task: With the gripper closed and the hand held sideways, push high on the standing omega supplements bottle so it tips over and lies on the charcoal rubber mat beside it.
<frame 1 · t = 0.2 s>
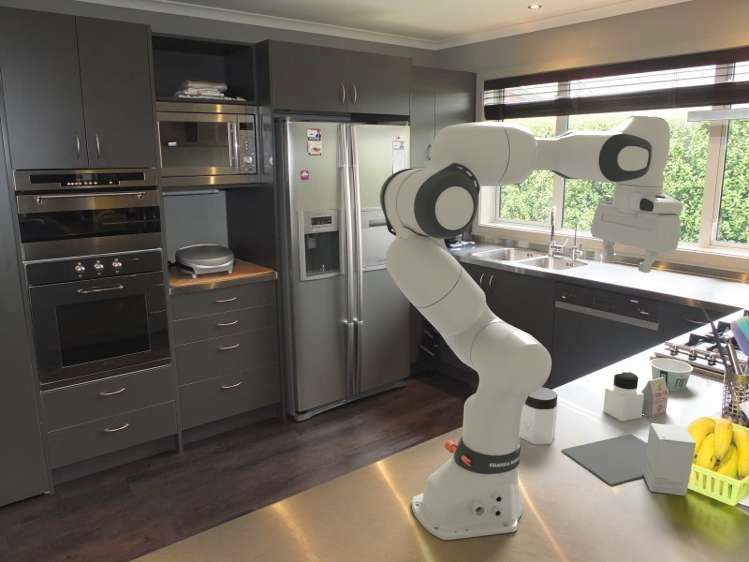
hand: (626, 266, 121), 48 cm above the countertop, tool pointing down, fingers open, 8 cm apart
medicine bottle: (621, 415, 161), on the countertop
juice carton: (652, 413, 163), on the countertop
mat: (621, 458, 138), on the countertop
jar: (537, 437, 148), on the countertop
supplement box: (663, 485, 127), on the countertop, touching mat
food container: (668, 385, 182), on the countertop
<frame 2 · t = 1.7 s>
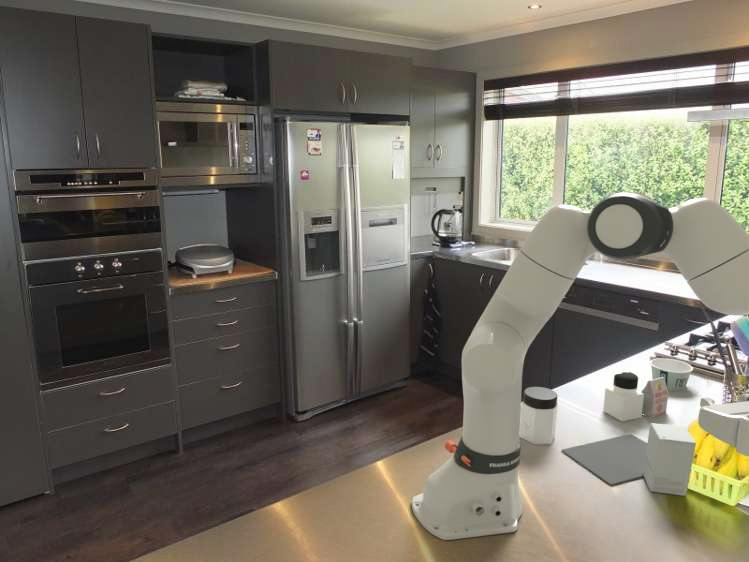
hand: (722, 399, 110), 25 cm above the countertop, tool horizontal, fingers open, 7 cm apart
nothing on the countertop moved.
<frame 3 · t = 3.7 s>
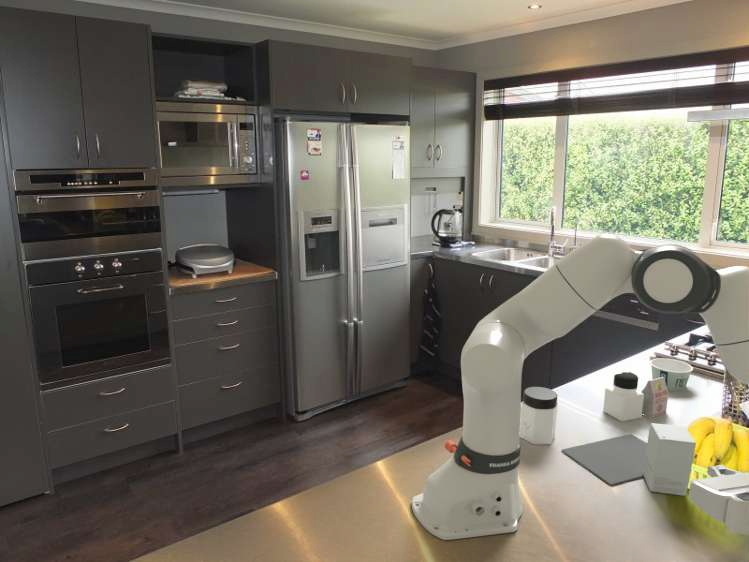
hand: (713, 468, 113), 11 cm above the countertop, tool horizontal, fingers closed
nothing on the countertop moved.
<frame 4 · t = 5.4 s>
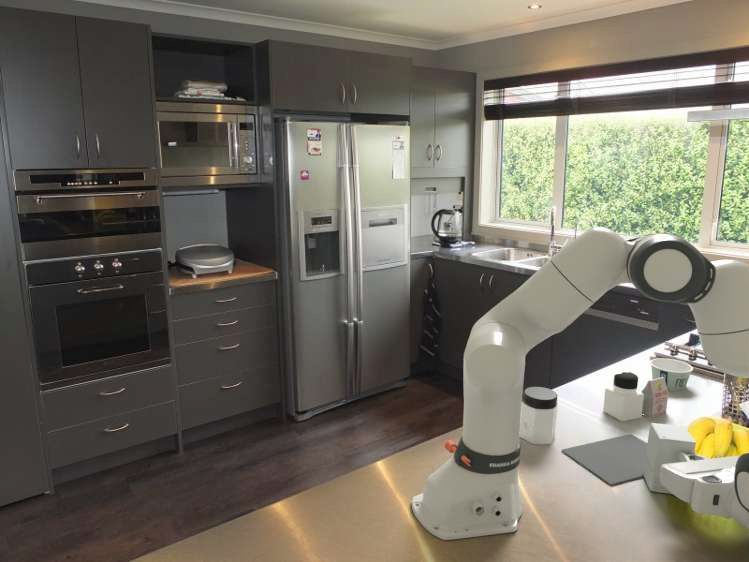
hand: (684, 454, 121), 10 cm above the countertop, tool horizontal, fingers closed
supplement box: (663, 484, 127), on the countertop, touching gripper, mat
everything else where it was.
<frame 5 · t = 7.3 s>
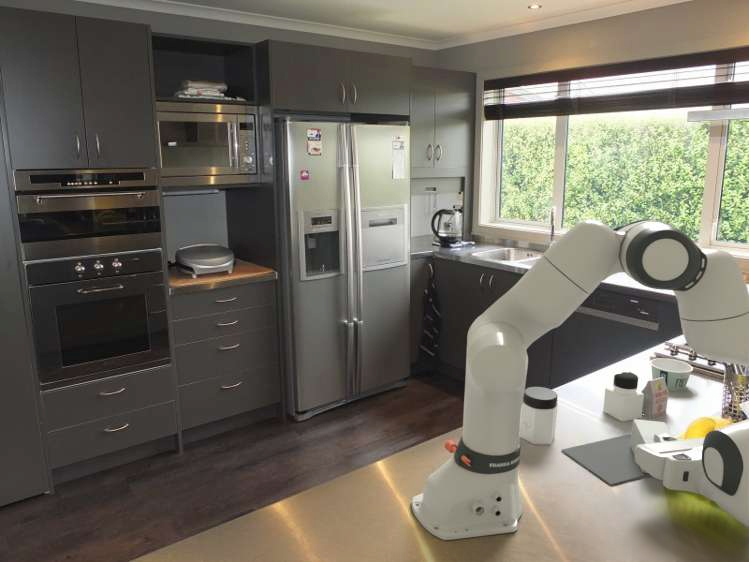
hand: (659, 436, 128), 10 cm above the countertop, tool horizontal, fingers closed
supplement box: (661, 461, 130), point 4 cm above the countertop, touching mat
everything else where it was.
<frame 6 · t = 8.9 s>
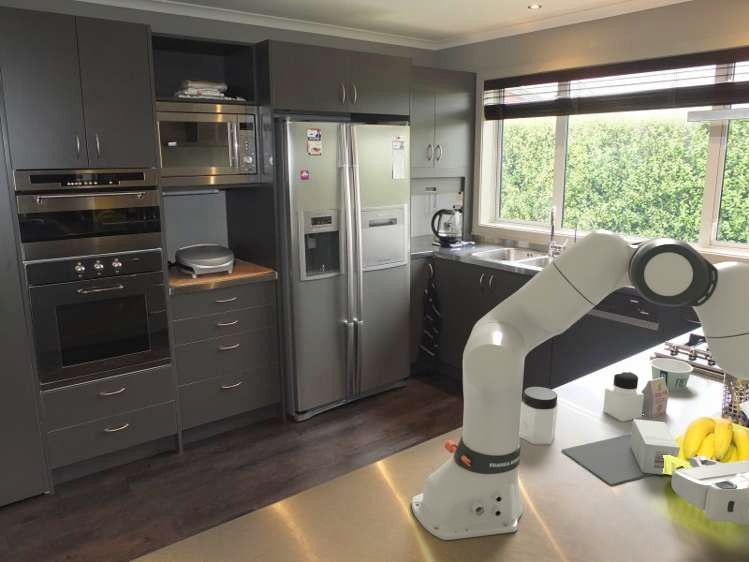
hand: (695, 459, 118), 10 cm above the countertop, tool horizontal, fingers closed
nothing on the countertop moved.
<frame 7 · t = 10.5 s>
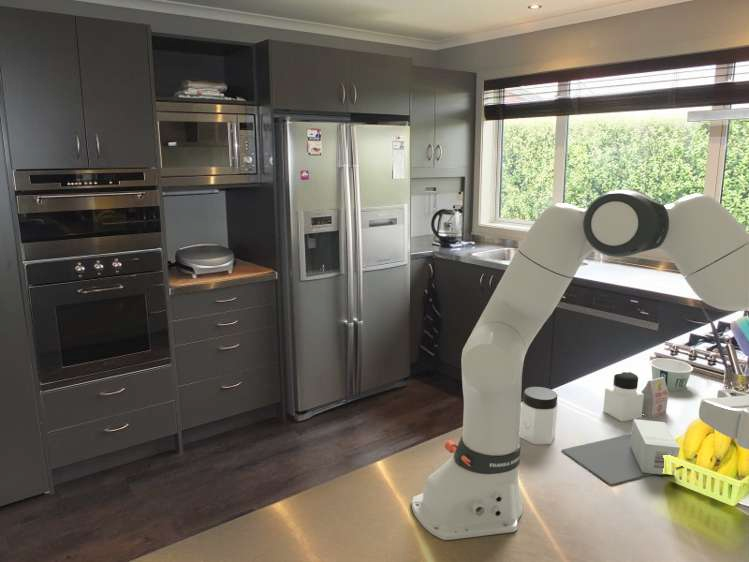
hand: (724, 393, 110), 27 cm above the countertop, tool horizontal, fingers closed
nothing on the countertop moved.
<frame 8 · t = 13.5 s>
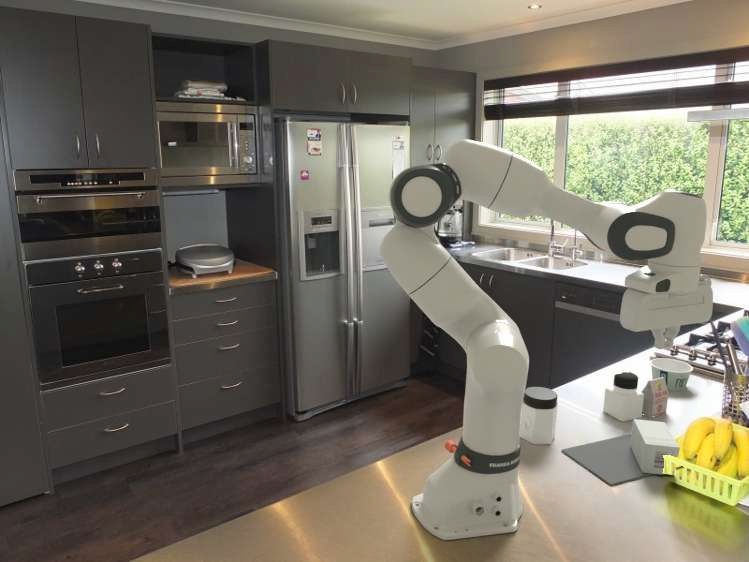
hand: (663, 347, 112), 34 cm above the countertop, tool pointing down, fingers closed
nothing on the countertop moved.
at the end: supplement box tilted 89°; supplement box touching mat; supplement box inside the target area (5.1 cm from its centre), point 3.9 cm above the countertop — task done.
